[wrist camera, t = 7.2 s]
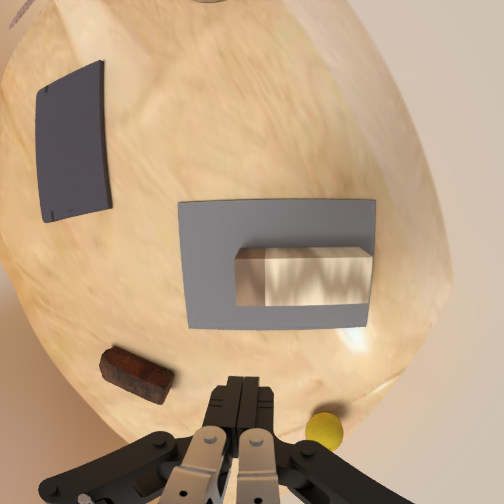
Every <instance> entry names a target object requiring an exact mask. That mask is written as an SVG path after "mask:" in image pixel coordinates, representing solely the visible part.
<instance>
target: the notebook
mask: <svg viewBox="0 0 504 504" xmlns="http://www.w3.org/2000/svg"><path fill="white" fill-rule="evenodd" d="M103 66H104V62H103V61H101V60H98V61H96V62H94V63H91V64H89V65H87V66H85V67H83V68H80V69H78V70H76V71H74V72H72V73H70V74H68V75H66V76H64V77H62V78H60V79H58V80H57V81H55V82H53V83H51V84H49V85H47V86H46V87H44V88H42V89H40V90H39V91H38V93H37V96H36V119H35V141H36V165H37V179H38V189H39V198H40V206H41V214H42V219H43V221H44V223H50V222H54V221H59V220H62V219H66V218H70V217H74V216H79V215H83V214H88V213H92V212H97V211H101V210H106V209H111V208H112V203H111V195H110V187H109V179H108V170H107V159H106V147H105V132H104V109H103Z"/></svg>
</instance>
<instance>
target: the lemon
mask: <svg viewBox="0 0 504 504" xmlns="http://www.w3.org/2000/svg"><path fill="white" fill-rule="evenodd" d="M305 435H306V440H314V441H317V442H319V443H320V444H322V445H323V446H324V447H326V448H327V449H329V450H330V451H331V452H332V451H334V450H336V449H337V448H338V447H339V446H340V444H341V442H342V439H343V427H342V424H341V422H340V420H339V419H338V417H336V416H335V415H333V414H331V413H327V412H323V413H319V414H316V415H314V416H313V417H312V418H311V419H310V420H309V421H308V423H307V426H306V430H305Z"/></svg>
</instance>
